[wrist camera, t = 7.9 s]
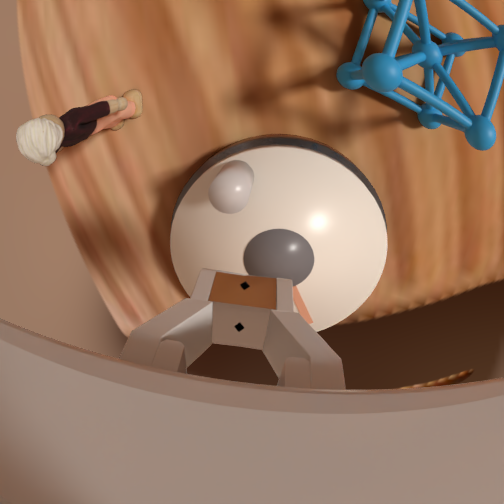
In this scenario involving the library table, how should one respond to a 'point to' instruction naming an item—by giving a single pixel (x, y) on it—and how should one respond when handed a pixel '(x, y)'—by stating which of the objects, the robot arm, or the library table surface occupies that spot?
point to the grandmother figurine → (75, 126)
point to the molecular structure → (426, 68)
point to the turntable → (284, 228)
